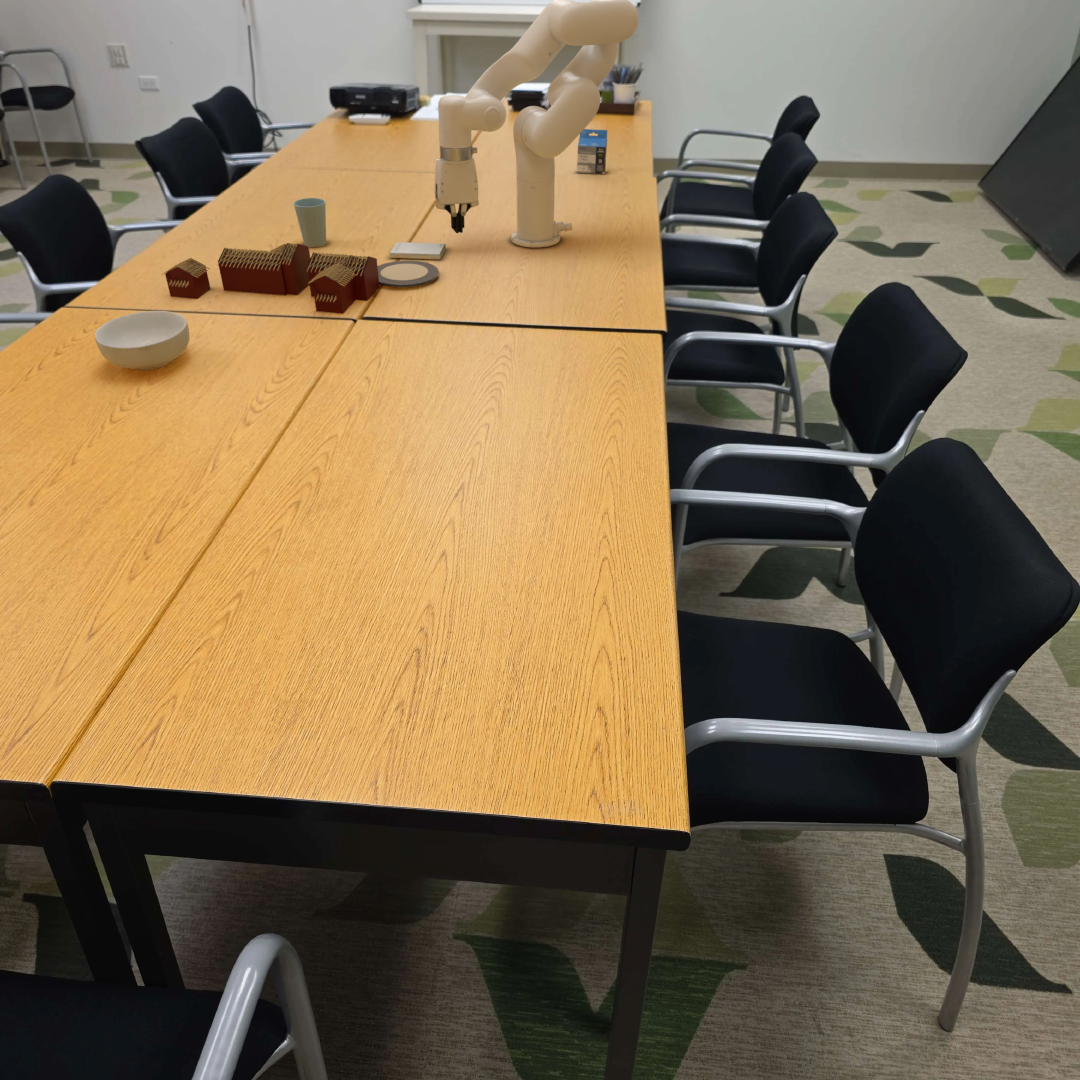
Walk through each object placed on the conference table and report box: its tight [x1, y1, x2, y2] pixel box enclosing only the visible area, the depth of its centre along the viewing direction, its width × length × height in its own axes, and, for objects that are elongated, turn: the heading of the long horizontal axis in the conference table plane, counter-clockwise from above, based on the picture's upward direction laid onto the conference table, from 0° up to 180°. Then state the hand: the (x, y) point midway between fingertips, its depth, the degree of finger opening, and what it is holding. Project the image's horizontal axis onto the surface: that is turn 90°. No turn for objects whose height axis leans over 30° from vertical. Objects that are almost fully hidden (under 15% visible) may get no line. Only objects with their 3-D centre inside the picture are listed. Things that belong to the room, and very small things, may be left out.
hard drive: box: [389, 241, 447, 260], centre depth 227 cm, size 2×8×12 cm
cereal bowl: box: [94, 310, 190, 371], centre depth 175 cm, size 17×17×7 cm
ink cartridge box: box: [576, 128, 608, 175], centre depth 286 cm, size 9×4×12 cm, turn 81°
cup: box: [293, 197, 327, 248], centre depth 230 cm, size 8×8×10 cm
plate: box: [377, 260, 440, 288], centre depth 214 cm, size 16×16×1 cm
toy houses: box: [161, 242, 381, 315], centre depth 204 cm, size 45×20×10 cm, turn 79°
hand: (457, 231), depth 228 cm, fingers closed
